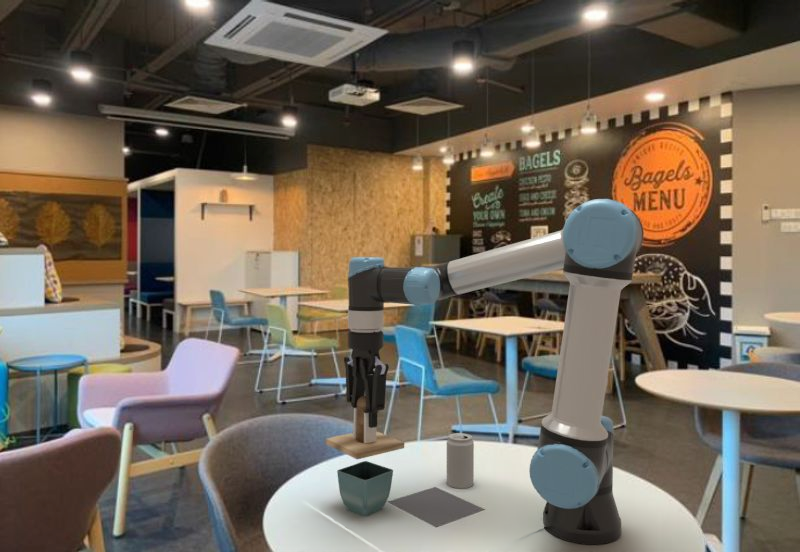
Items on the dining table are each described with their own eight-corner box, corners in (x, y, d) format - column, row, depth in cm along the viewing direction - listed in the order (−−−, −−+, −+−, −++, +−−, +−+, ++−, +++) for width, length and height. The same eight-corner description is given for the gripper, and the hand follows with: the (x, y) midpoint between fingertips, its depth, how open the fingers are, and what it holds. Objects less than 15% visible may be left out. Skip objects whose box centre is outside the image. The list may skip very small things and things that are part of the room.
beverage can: (472, 492, 141) (472, 441, 140) (444, 490, 142) (445, 439, 141) (474, 482, 147) (474, 433, 146) (448, 480, 148) (448, 431, 148)
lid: (404, 448, 129) (404, 397, 128) (357, 459, 121) (357, 405, 121) (371, 434, 138) (371, 387, 138) (325, 444, 131) (326, 394, 130)
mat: (485, 512, 130) (485, 509, 130) (436, 530, 121) (436, 527, 121) (435, 489, 142) (435, 486, 142) (387, 504, 134) (387, 501, 134)
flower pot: (394, 510, 130) (394, 469, 130) (365, 524, 124) (365, 480, 123) (365, 499, 136) (365, 460, 136) (335, 512, 129) (335, 470, 129)
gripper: (403, 332, 125) (402, 446, 125) (358, 325, 137) (357, 427, 138) (373, 335, 120) (372, 453, 121) (330, 327, 133) (329, 433, 133)
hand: (364, 439), depth 129 cm, fingers closed on lid, 3 cm apart
